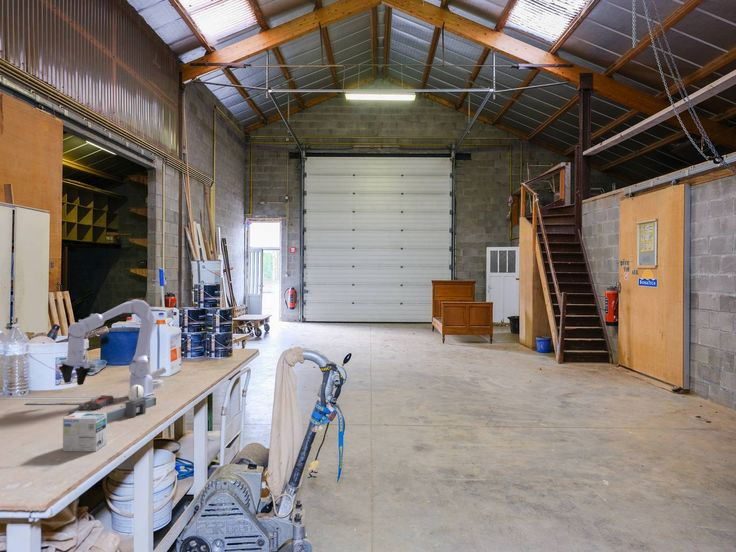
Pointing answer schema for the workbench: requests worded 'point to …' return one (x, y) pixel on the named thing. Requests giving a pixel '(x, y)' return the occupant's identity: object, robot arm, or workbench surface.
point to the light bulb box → (84, 431)
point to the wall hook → (155, 374)
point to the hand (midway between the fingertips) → (73, 383)
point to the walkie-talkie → (95, 403)
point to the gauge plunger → (136, 408)
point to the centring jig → (131, 404)
